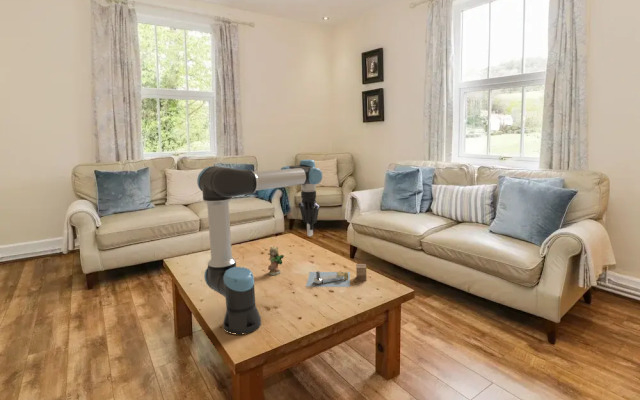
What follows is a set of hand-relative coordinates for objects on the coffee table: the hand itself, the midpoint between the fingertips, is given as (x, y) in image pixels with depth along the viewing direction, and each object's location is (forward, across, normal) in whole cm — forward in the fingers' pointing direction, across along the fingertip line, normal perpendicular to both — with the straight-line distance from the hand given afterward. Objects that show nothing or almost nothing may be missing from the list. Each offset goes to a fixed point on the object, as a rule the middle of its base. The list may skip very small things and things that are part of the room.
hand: (310, 235), depth 191 cm
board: (+24, +8, +5) cm, 26 cm away
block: (+25, +21, +15) cm, 36 cm away
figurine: (+25, -22, -5) cm, 34 cm away
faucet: (+23, +9, +2) cm, 25 cm away
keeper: (+24, +14, +8) cm, 29 cm away
